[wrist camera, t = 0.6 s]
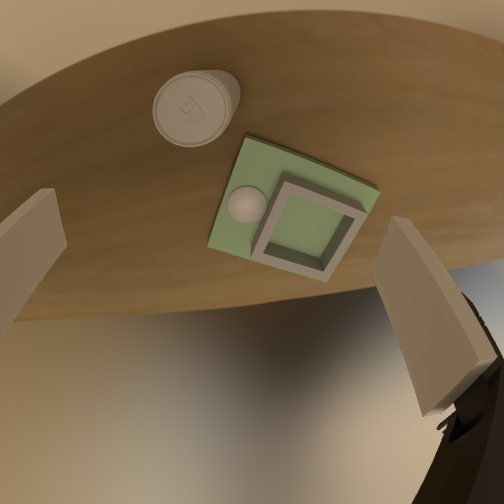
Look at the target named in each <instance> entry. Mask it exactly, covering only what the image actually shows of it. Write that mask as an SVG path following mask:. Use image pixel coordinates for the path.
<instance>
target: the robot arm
mask: <svg viewBox="0 0 504 504" xmlns="http://www.w3.org/2000/svg"><path fill="white" fill-rule="evenodd" d="M66 247H67V242H66V238H65V234H64V230H63V226H62V222H61V217H60V213H59V208H58V203H57V198H56V193H55V188H47V189H40V190H39V191H38V192H36V193H35V194H34V195H33V196H31V197H30V198H29V199H28V200H27V201H25V202H24V203H23V204H22V205H21V206H20V207H18V208H17V209H16V210H15V211H14V212H13V213H12V214H10V215H9V216H8V217H7V218H6V219H5V220H4V221H3V222H2V223H1V224H0V343H1V342H2V340H3V338H4V336H5V335H6V333H7V331H8V330H9V328H10V326H11V325H12V323H13V322H14V320H15V318H16V317H17V315H18V314H19V312H20V311H21V309H22V307H23V306H24V304H25V303H26V301H27V300H28V298H29V297H30V296H31V294H32V293H33V291H34V290H35V288H36V287H37V286H38V284H39V283H40V281H41V280H42V279H43V277H44V276H45V274H46V273H47V272H48V270H49V269H50V268H51V266H52V265H53V264H54V262H55V261H56V260H57V259H58V257H59V256H60V255H61V253H62V252H63V251H64V250H65V248H66ZM371 275H372V277H373V280H374V282H375V284H376V287H377V289H378V291H379V294H380V296H381V299H382V301H383V303H384V306H385V308H386V311H387V313H388V316H389V318H390V321H391V324H392V326H393V329H394V332H395V334H396V337H397V339H398V342H399V345H400V348H401V351H402V353H403V356H404V359H405V362H406V365H407V368H408V371H409V374H410V377H411V380H412V383H413V386H414V390H415V393H416V396H417V399H418V403H419V406H420V409H421V413H422V416H423V417H427V416H431V415H436V414H441V413H443V412H444V411H445V410H446V409H447V408H448V407H449V406H450V405H451V404H453V403H454V405H455V408H456V411H454V412H453V413H452V414H451V415H450V416H449V417H447V418H446V419H445V420H444V421H443V422H441V423H440V424H439V425H438V427H437V430H440V429H441V428H442V427H444V426H445V425H446V424H447V427H446V429H445V430H444V431H443V432H442V433H444V436H443V438H442V441H441V443H440V445H439V448H438V450H437V452H436V455H435V457H434V460H433V462H432V464H431V466H430V468H429V470H428V473H427V475H426V477H425V479H424V481H423V483H422V485H421V487H420V489H419V491H418V493H417V495H416V496H415V498H414V500H413V502H412V504H504V358H503V356H502V354H501V352H500V350H499V349H498V347H497V345H496V343H495V341H494V339H493V337H492V336H491V334H490V332H489V330H488V328H487V327H486V326H485V325H484V324H485V323H484V321H483V320H482V318H481V316H479V313H478V311H477V309H476V308H475V306H474V305H473V303H472V302H471V301H470V300H469V299H468V298H467V297H466V296H465V295H464V294H463V293H462V292H460V290H459V289H458V287H457V285H456V284H455V282H454V281H453V279H452V278H451V276H450V275H449V273H448V272H447V270H446V269H445V267H444V266H443V264H442V263H441V262H440V260H439V259H438V257H437V256H436V254H435V253H434V252H433V250H432V249H431V248H430V246H429V245H428V243H427V242H426V241H425V239H424V238H423V237H422V235H421V234H420V233H419V232H418V230H417V229H416V228H415V226H414V225H413V224H412V223H411V221H410V220H409V219H408V218H402V217H396V216H392V217H391V220H390V223H389V226H388V229H387V232H386V235H385V237H384V240H383V243H382V246H381V248H380V251H379V254H378V256H377V259H376V262H375V264H374V267H373V269H372V272H371Z"/></svg>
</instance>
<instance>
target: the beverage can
mask: <svg viewBox="0 0 504 504" xmlns="http://www.w3.org/2000/svg"><path fill="white" fill-rule="evenodd" d="M240 96H241V91H240V85H239V83H238V81H237V79H236V78H235V77H234V76H233V75H232V74H230V73H228V72H226V71H223V70H198V71H188V72H184V73H180V74H177V75H176V76H174V77H172V78H171V79H169V80H168V81H167V82H166V83H165V84H164V85H163V86H162V87H161V88H160V90H159V91H158V93H157V95H156V96H155V99H154V103H153V119H154V123H155V126H156V127H157V129H158V131H159V132H160V134H161V135H162V136H163V137H164V138H165V139H167V140H168V141H170V142H172V143H173V144H175V145H179V146H182V147H197V146H202V145H205V144H207V143H209V142H211V141H213V140H215V139H216V138H217V137H219V136H220V135H221V134H222V133H223V132H224V130H225V129H226V127H227V126H228V125H229V123H230V121H231V119H232V117H233V115H234V113H235V111H236V109H237V107H238V104H239V101H240Z"/></svg>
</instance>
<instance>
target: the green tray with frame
mask: <svg viewBox="0 0 504 504" xmlns="http://www.w3.org/2000/svg"><path fill="white" fill-rule="evenodd" d="M380 193H381V192H380V191H379V189H378V188H377V187H376V186H374V185H372V184H370V183H367V182H365V181H363V180H361V179H359V178H357V177H354V176H352V175H350V174H348V173H345V172H343V171H341V170H339V169H336V168H334V167H332V166H329V165H327V164H325V163H322V162H320V161H317V160H315V159H312V158H310V157H307V156H305V155H302V154H300V153H297V152H295V151H292V150H289V149H287V148H284V147H282V146H279V145H276V144H273V143H271V142H268V141H265V140H262V139H259V138H256V137H254V136H251V135H248V134H246V135H245V137H244V140H243V143H242V146H241V148H240V151H239V154H238V156H237V159H236V162H235V165H234V167H233V170H232V173H231V176H230V179H229V181H228V184H227V187H226V190H225V193H224V196H223V199H222V201H221V204H220V207H219V210H218V213H217V216H216V219H215V222H214V225H213V228H212V231H211V234H210V237H209V240H208V244H207V247H209V248H212V249H216V250H219V251H222V252H226V253H229V254H232V255H236V256H239V257H242V258H246V259H249V260H252V261H256V262H259V263H262V264H266V265H269V266H272V267H276V268H279V269H282V270H286V271H289V272H292V273H296V274H299V275H303V276H306V277H309V278H313V279H316V280H319V281H323V282H327V281H328V279H329V278H330V276H331V274H332V273H333V271H334V270H335V268H336V267H337V265H338V263H339V262H340V260H341V259H342V257H343V255H344V254H345V252H346V251H347V249H348V247H349V246H350V244H351V242H352V241H353V239H354V238H355V236H356V234H357V233H358V231H359V229H360V228H361V226H362V224H363V222H364V221H365V219H366V217H367V216H368V214H369V212H370V210H371V209H372V207H373V205H374V203H375V202H376V200H377V198H378V196H379V195H380Z"/></svg>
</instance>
